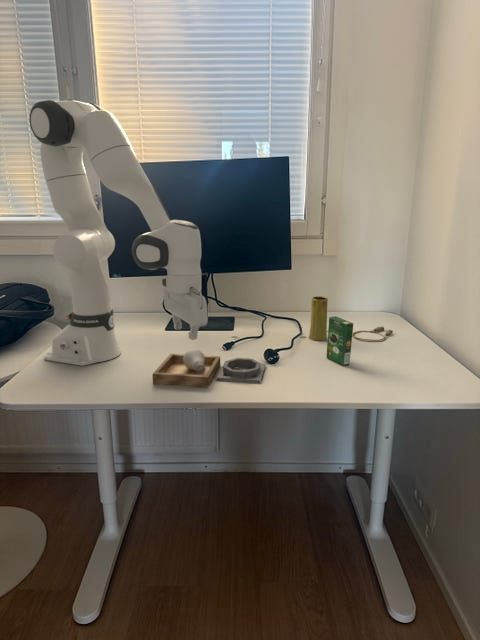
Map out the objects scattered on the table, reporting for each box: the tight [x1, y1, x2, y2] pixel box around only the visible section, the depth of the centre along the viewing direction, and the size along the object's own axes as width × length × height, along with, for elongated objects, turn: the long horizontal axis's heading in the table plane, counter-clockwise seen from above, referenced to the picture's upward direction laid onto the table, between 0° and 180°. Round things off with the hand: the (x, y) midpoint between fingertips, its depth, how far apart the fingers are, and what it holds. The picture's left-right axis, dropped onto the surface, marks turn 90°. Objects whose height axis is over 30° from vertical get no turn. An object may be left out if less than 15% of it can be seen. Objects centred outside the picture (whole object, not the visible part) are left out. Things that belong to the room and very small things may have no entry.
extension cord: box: [352, 326, 394, 343], centre depth 154 cm, size 12×16×2 cm
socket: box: [215, 357, 267, 384], centre depth 123 cm, size 12×12×2 cm
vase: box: [308, 295, 329, 342], centre depth 150 cm, size 6×6×14 cm
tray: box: [152, 353, 221, 389], centre depth 122 cm, size 15×15×3 cm
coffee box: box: [326, 316, 354, 367], centre depth 129 cm, size 8×3×13 cm, turn 28°
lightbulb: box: [183, 348, 205, 373], centre depth 122 cm, size 6×6×11 cm
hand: (185, 333), depth 119 cm, fingers open, 8 cm apart
